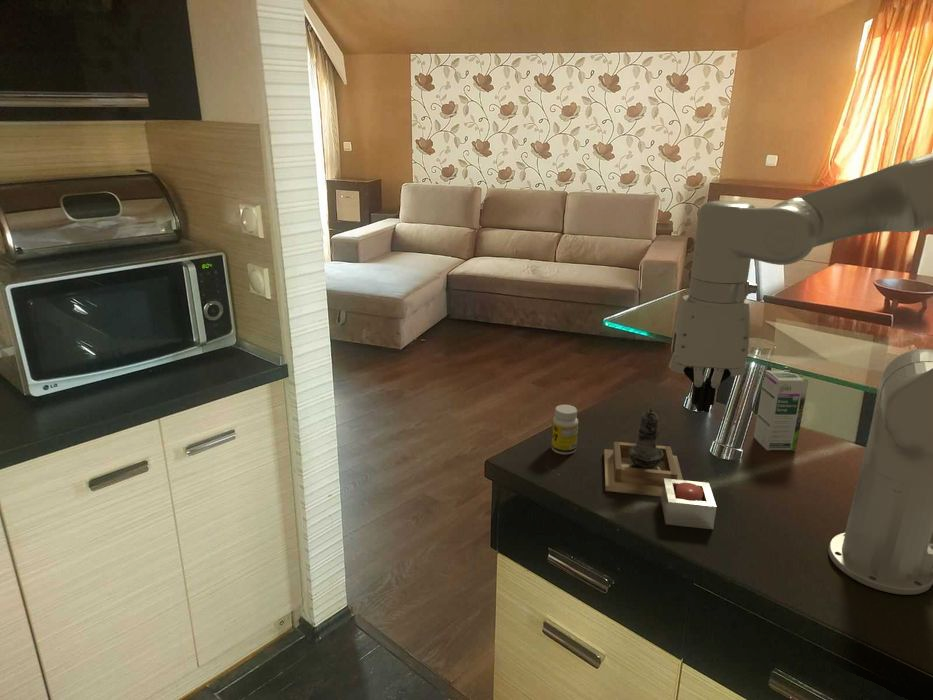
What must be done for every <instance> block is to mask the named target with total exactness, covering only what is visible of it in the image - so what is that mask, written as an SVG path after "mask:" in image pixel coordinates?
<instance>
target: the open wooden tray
mask: <svg viewBox="0 0 933 700" xmlns="http://www.w3.org/2000/svg"><path fill="white" fill-rule="evenodd" d="M636 444H637V443H633V442H632V443H631V442H622V441H613V449H607V448H605V449H603V450H604V451H603V462H604V491H605V492H614V493H615V492H616V493H622V494H623V493H624V494H632V495H633V494H634V495H635V494H636V495H644V496H653V497H662V489H663V481H664V478H665V479H675V480H684V479H683V475H682V472H681V467H680V463H679V459H678V456H677V455H674V454H673V451H672V448H671V447H672V446H668V445H667V446H666V445H657V444H656V447H657V448H659V449H660V450H661V451H662V452H663V457H662V458H661V461H660V462H659V464H658V465H657V466H656V467H657V468H658V469H659V470H653V469H642V468H631V467H629V465H630V464H632V463H633V462H632V461H631V458H630V454H629V451H628V450H629V448H630V447H631V446H633V445H636Z"/></svg>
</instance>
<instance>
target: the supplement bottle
mask: <svg viewBox="0 0 933 700" xmlns="http://www.w3.org/2000/svg"><path fill="white" fill-rule="evenodd" d="M554 410H555V411H554V416H553V418H552V426H551V427H552V428H551V443H550V444H551V446H550V447H551V450H552V451H553V452H555V453H556V454H559V455H570V454H571V455H572V454H573V453H575V452H577V445H578V433H579V432H578V431H579V419H578V418H577V416H578V409H577V407H575V406H574V405H570V404H560V405H557V406H556V407H555V409H554Z"/></svg>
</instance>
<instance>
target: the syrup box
mask: <svg viewBox="0 0 933 700" xmlns="http://www.w3.org/2000/svg"><path fill="white" fill-rule="evenodd" d="M765 371H766V373H765V377H764V376H763V377H764V380H763V379H762V385H761V390H760V397H759V403H758V404H759V405H758V409H757V415H756V420H755V421H756V422H755V428H754V435H753V438H754V439H755V440H756V441H757V442H758V443H759V444H760V445H761V447H762V448H764V450H766V451H768V452H769V451H796V450H797V444H798V439H799V433H800V429H801V423H802V419H803V415H804V414H803V412H804V410H805V409H804V408H805V402H806V397H807V392H808V386H809V380H808V378H807V377H805V376H804V375H802V374H801V375H802V376H801V375H797V374H793V373H789V372H784V371H785V370H770V369H769V370H765Z"/></svg>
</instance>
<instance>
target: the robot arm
mask: <svg viewBox="0 0 933 700" xmlns="http://www.w3.org/2000/svg"><path fill="white" fill-rule="evenodd" d="M696 224H697V225H696V230H695V231H696V232H695V241H694V248H693V255H692V265H691V273H690V281H689V282H690V283H689V291H688V294H685V295H683V296H682V298H681V300H680V303H679V307H678V309H677V313H676V317H675V322H674V328H673V329H674V330H673V334H672V340H671V348H670V349H671V350H670V351H671V358H670V361H669V364H668V367H669V369H670V371H672V372H676V373H679V374H683V375H685V376H686V377H687V378H688V380H690V381H691V383H692V390H691V397H690V399H691V400H690V401H691V404H692V405H694V408H695V409H696V411H697V413H702V412H704V413H710V407H711V406H714V404H715V397H716V392H717V391H716V390H717V388H719V387H720V384H722V383H723V382H724V381H726V380H727V379H729V378H730V377H736V376H743V375H745V374H746V372H747V371H746V369H747V368H746V364H747V361H748V356H749V348H750V347H749V346H750V336H751V335H750V333H751V332H750V328H751V327H750V326H751V313H750V312H751V311H750V304H749V303H750V302H749V301H748V299H747V296H749V295H751V294H757V293H758V284H757V283H752V282H750V280H749V272H750V268H751V260H754V261H758V262H763V263H767V264H771V265H777V266H786V265H787V266H788V265H791V264H792V265H793V264H795V263H798V262H800V261H801V260H803V259H805V258H806V257H807V256H808V255H809V254H810V253H811V252H812V250H813V248H816V247H819V246H823V245H827V244H831V243H834V242H837V241H841V240H846V239H849V238H854V237H857V236H862V235H869V234H875V233H884V232H892V233H893V232H894V233H895V232H896V233H911V232H918V231H926V230H929V229H930V230H931V229H933V152H931V153H927V154H925V155H922V156H917V157H914V158H911V159H908V160H904V161H902V162H899V163H896V164H893V165H890V166H887V167H885V168H882V169H880V170H877V171H875V172H872V173H869V174H866V175H862V176H860V177H857V178H854V179H851V180H846V181H843V182H840V183H836V184H833V185H830V186H827V187H824V188H821V189H818V190H814V191H812V192H808V193H805V194H802V195H798V196H795V197H792V198H789V199H786V200H783V201H781V202H779V203H777V204H774V205H773V206H771V207H755V206H754V205H753V204H751V203H749V202H745V201H738V200H713V201H707V202H705V203H703V204H702V205H701V207H700V208H699V210H698V215H697V222H696ZM703 369H709V371H708V375H707V377H706V378H705V380H703V379H704V377H703V375H704V374H703ZM876 392H877V394H876V399H875V404H874V409H873V415H872V420H871V424H870V429H869V433H868V438H867V442H866V447H865V451H864V453H863V454H864V455H863V458H862V461H861V462H862V463H861V466H860V469H859V474H858V479H857V482H856V486H855V490H854V495H853V498H852V502H851V508H850V512H849V515H848V520H847V524H846V528H845V532H843V533H839V534H837V535H835V536H834V537H832V539H830V541H829V544H828V545H829V546H828V548H827V549H828V555H829V558H830V560H831V561H832V563H833V564H834V565H835V566H836V567H837V568H838V569H839V570H841V572H843V574H845V575H847V576H848V577H850V578H851V579H853V580H855V581H857V582H858V583H861V584H862V585H865V586H867V587H870V588H872V589H874V590H878V591H881V592H886V593H889V594H896V595H904V596H905V595H910V596H911V595H919V594H922V593H924V592H927V591H928V590H929V589H930V588H931V587H932V586H933V543H931V538H932V535H933V349H931V348H920V349H914V350H913V349H912V350H910V351H906V352H904V353H901V354H900V355H899V356H897V357H895V358H894V359H893V360H892V361H891V362H890V363H888V365H887V366H886V367H885V369H884V370H883V372H882V375H881V376H880V380H879V383H878V387H877V391H876Z"/></svg>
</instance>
